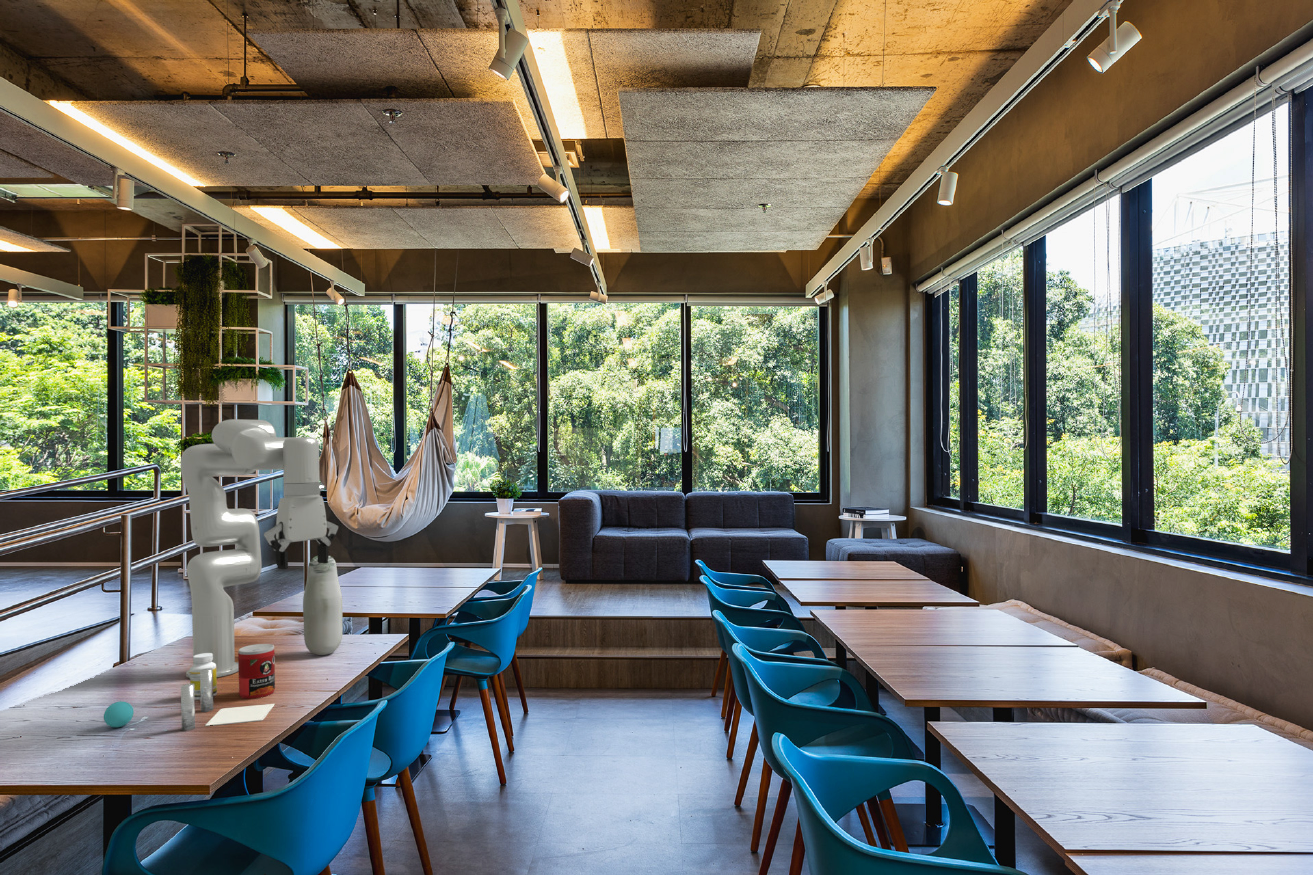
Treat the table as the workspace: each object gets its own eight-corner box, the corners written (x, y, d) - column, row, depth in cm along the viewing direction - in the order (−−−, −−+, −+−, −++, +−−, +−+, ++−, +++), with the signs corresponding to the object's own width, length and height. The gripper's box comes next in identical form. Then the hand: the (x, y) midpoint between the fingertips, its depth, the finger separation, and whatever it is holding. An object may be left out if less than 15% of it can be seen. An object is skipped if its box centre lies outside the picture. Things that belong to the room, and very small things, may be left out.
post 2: (202, 708, 174) (202, 668, 175) (214, 707, 175) (214, 667, 175) (199, 712, 172) (198, 671, 172) (211, 711, 173) (210, 670, 173)
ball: (110, 723, 166) (110, 699, 166) (137, 721, 167) (137, 696, 167) (99, 732, 161) (98, 707, 161) (127, 729, 162) (127, 704, 162)
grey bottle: (299, 654, 221) (297, 555, 221) (335, 647, 228) (333, 551, 228) (311, 660, 214) (309, 558, 214) (348, 653, 221) (346, 554, 221)
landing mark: (221, 709, 174) (221, 708, 174) (274, 704, 176) (274, 703, 176) (205, 726, 163) (205, 725, 163) (262, 720, 166) (262, 719, 166)
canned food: (251, 701, 179) (250, 653, 179) (231, 696, 184) (231, 649, 184) (282, 692, 186) (281, 645, 186) (262, 687, 190) (262, 642, 190)
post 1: (183, 727, 163) (183, 684, 163) (196, 725, 163) (196, 682, 163) (179, 731, 160) (179, 687, 160) (192, 729, 161) (192, 686, 161)
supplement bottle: (213, 691, 188) (212, 650, 188) (219, 696, 184) (219, 654, 184) (187, 696, 184) (187, 655, 184) (194, 701, 180) (193, 659, 180)
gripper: (327, 488, 188) (328, 560, 187) (255, 493, 173) (257, 570, 173) (345, 489, 183) (346, 561, 183) (273, 493, 169) (275, 572, 169)
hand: (303, 565), depth 178 cm, fingers open, 9 cm apart
